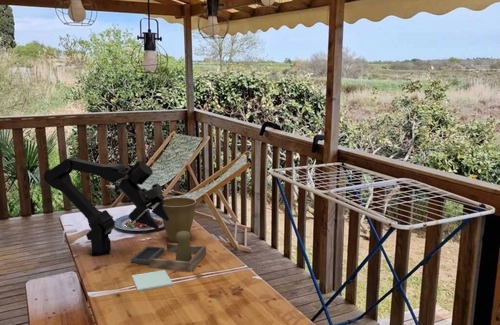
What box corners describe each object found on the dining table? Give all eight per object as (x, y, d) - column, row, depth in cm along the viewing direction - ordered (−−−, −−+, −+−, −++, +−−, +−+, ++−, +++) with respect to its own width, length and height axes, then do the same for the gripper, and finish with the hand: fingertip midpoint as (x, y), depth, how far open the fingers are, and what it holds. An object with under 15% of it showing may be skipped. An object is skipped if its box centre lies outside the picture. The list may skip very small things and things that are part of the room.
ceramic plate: (160, 213, 219) (160, 207, 218) (180, 228, 197) (180, 222, 197) (107, 222, 206) (106, 215, 205) (122, 238, 184) (122, 231, 183)
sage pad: (137, 291, 138) (137, 289, 138) (132, 277, 148) (131, 275, 148) (172, 285, 142) (172, 283, 142) (164, 271, 152) (164, 270, 152)
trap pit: (131, 263, 159) (130, 259, 159) (147, 250, 171) (147, 246, 171) (149, 265, 157) (149, 260, 157) (164, 251, 170) (164, 247, 170)
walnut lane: (149, 267, 156) (149, 259, 155) (168, 250, 171) (168, 242, 171) (190, 271, 152) (190, 263, 152) (206, 253, 168) (205, 246, 168)
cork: (189, 264, 158) (188, 235, 156) (172, 263, 159) (172, 234, 157) (194, 258, 164) (194, 229, 162) (178, 257, 165) (178, 228, 163)
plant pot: (201, 242, 180) (201, 203, 178) (165, 247, 174) (164, 208, 171) (189, 230, 194) (189, 195, 191) (156, 235, 187) (154, 199, 184)
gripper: (135, 183, 150) (167, 217, 149) (159, 173, 168) (187, 203, 167) (115, 204, 153) (146, 238, 153) (140, 191, 171) (168, 221, 170)
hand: (163, 224), depth 161 cm, fingers open, 9 cm apart
